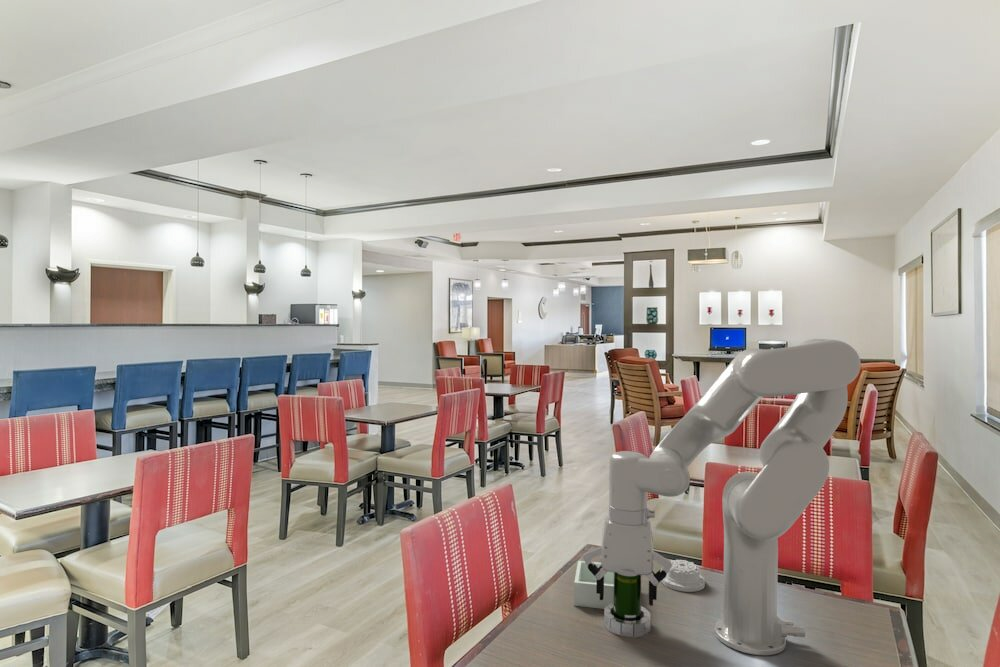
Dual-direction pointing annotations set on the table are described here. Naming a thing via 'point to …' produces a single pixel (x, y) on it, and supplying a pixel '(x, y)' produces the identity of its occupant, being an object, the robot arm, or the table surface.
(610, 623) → the collar
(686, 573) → the mechanical component
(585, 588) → the bin
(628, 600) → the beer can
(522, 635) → the table surface
